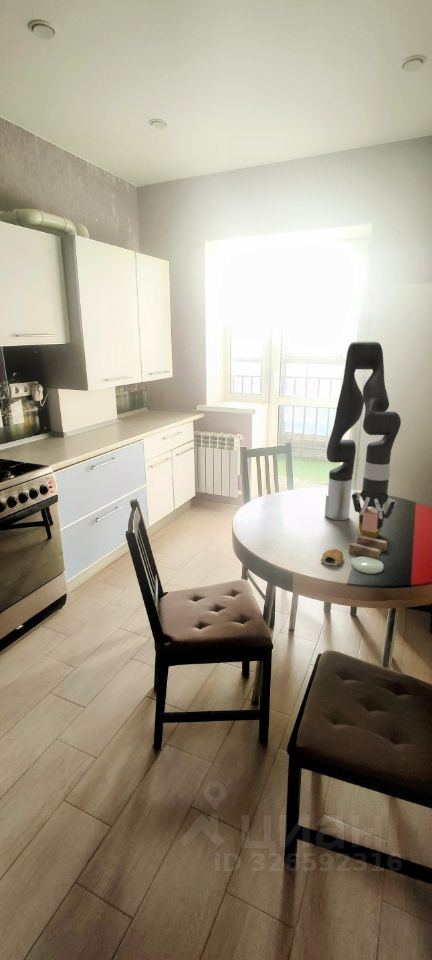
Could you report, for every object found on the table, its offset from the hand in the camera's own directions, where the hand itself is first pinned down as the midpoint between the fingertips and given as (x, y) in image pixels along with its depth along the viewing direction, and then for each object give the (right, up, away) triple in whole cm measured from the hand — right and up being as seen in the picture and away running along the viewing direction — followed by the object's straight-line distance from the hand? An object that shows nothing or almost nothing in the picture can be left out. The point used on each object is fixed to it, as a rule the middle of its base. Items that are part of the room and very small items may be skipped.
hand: (371, 526), depth 142 cm
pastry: (-10, -13, +8) cm, 19 cm away
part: (0, -1, 0) cm, 1 cm away
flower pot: (+9, -6, +28) cm, 30 cm away
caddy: (+4, -10, +15) cm, 18 cm away
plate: (0, -14, +4) cm, 14 cm away
